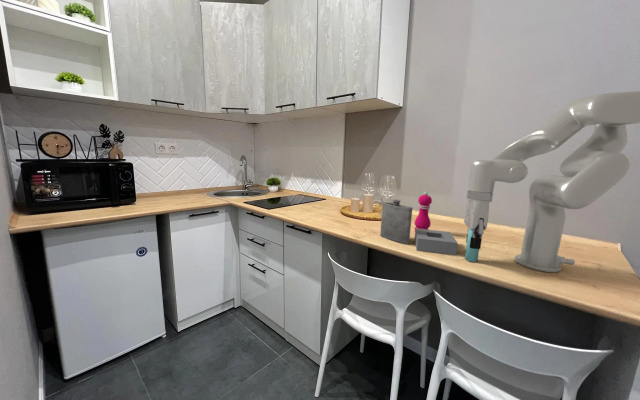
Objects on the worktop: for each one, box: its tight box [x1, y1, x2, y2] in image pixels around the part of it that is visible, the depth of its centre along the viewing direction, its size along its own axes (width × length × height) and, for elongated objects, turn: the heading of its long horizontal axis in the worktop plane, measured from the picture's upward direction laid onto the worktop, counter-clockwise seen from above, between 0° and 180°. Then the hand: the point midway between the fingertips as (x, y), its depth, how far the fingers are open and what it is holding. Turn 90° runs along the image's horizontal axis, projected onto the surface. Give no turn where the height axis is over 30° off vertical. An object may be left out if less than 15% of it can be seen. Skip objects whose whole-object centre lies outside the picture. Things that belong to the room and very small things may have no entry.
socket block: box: [413, 227, 458, 256], centre depth 104 cm, size 14×14×5 cm
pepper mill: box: [414, 191, 433, 230], centre depth 121 cm, size 7×7×20 cm
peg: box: [464, 227, 480, 263], centre depth 90 cm, size 4×4×14 cm
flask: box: [379, 199, 413, 246], centre depth 109 cm, size 4×14×18 cm, turn 39°
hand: (472, 245), depth 91 cm, fingers closed on peg, 4 cm apart
